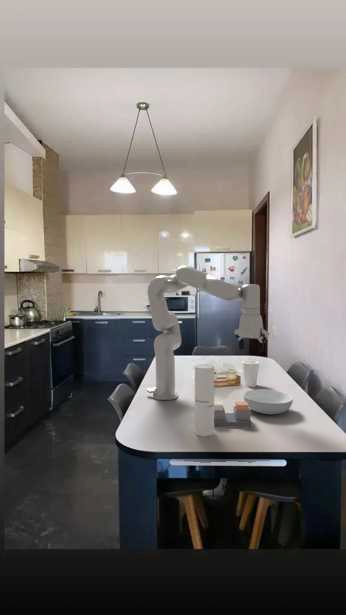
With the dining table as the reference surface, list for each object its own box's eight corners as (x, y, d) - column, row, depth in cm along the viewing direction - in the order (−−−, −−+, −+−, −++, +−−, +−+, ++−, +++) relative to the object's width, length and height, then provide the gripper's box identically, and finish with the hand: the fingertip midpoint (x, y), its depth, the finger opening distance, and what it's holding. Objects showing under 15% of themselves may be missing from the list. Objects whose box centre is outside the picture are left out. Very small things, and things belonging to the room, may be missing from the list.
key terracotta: (237, 412, 143) (237, 405, 143) (235, 408, 148) (235, 401, 147) (248, 412, 143) (248, 405, 143) (246, 408, 147) (246, 401, 147)
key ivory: (211, 412, 143) (211, 404, 143) (211, 408, 148) (210, 401, 148) (222, 412, 143) (222, 405, 143) (221, 408, 148) (221, 401, 148)
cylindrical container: (193, 429, 139) (193, 364, 137) (212, 428, 139) (212, 363, 138) (196, 436, 132) (196, 368, 130) (215, 435, 132) (215, 368, 131)
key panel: (210, 426, 141) (210, 412, 141) (208, 417, 151) (208, 404, 151) (251, 427, 140) (251, 413, 140) (247, 417, 150) (247, 404, 150)
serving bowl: (285, 423, 145) (285, 406, 144) (236, 413, 156) (236, 397, 155) (297, 408, 162) (298, 393, 162) (252, 400, 173) (252, 386, 173)
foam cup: (240, 386, 198) (240, 363, 198) (243, 382, 207) (243, 360, 206) (257, 388, 195) (257, 364, 194) (260, 384, 203) (260, 361, 203)
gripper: (230, 312, 164) (230, 349, 165) (264, 313, 152) (264, 353, 153) (239, 311, 170) (239, 347, 170) (273, 312, 158) (273, 351, 159)
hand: (251, 350), depth 162 cm, fingers open, 9 cm apart
